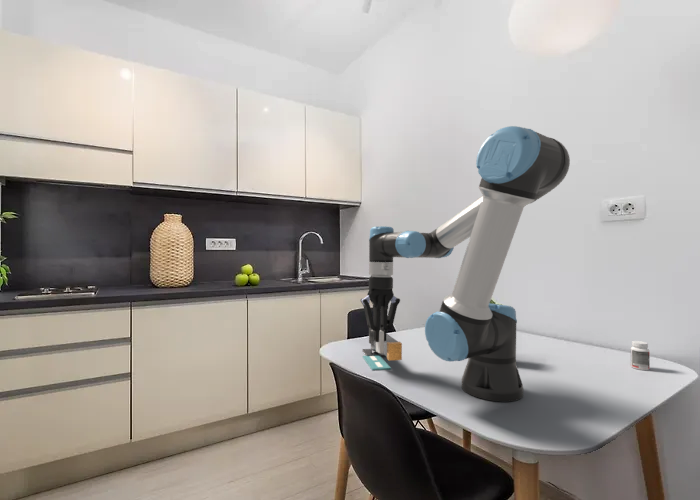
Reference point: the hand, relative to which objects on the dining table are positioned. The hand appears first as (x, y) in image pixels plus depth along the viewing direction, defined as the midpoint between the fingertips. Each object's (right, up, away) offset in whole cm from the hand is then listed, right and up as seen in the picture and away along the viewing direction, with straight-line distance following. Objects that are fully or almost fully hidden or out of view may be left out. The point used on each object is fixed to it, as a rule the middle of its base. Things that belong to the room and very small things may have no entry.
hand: (379, 352), depth 112 cm
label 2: (0, -5, +3) cm, 6 cm away
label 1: (-1, -5, +10) cm, 11 cm away
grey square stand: (0, -6, +17) cm, 18 cm away
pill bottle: (+84, -7, +4) cm, 85 cm away
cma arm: (+2, -1, +8) cm, 8 cm away
